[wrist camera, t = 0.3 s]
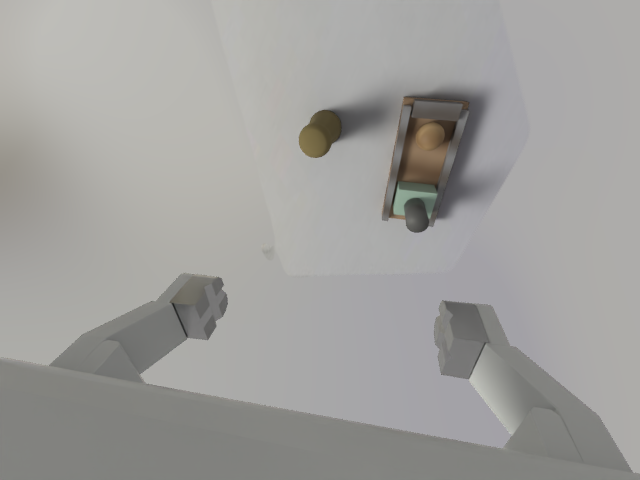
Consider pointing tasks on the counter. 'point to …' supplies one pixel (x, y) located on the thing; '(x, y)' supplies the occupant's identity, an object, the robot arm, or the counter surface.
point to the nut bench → (420, 163)
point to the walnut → (430, 136)
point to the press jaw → (415, 204)
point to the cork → (320, 134)
